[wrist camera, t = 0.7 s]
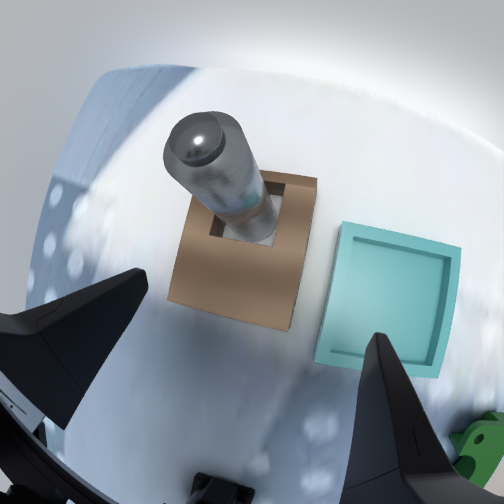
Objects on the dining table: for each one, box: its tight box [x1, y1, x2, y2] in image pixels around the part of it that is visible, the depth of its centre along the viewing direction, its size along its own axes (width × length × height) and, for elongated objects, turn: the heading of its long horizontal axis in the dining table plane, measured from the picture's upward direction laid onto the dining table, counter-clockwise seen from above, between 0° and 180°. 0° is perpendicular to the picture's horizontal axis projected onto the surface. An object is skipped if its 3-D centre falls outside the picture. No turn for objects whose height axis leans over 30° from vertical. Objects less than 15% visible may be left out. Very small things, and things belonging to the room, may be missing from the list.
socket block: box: [167, 170, 317, 332], centre depth 23 cm, size 12×10×3 cm
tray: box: [313, 221, 461, 378], centre depth 20 cm, size 11×11×2 cm
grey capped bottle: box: [163, 111, 277, 242], centre depth 18 cm, size 4×4×14 cm
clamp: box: [449, 412, 504, 488], centre depth 14 cm, size 12×6×9 cm, turn 159°
